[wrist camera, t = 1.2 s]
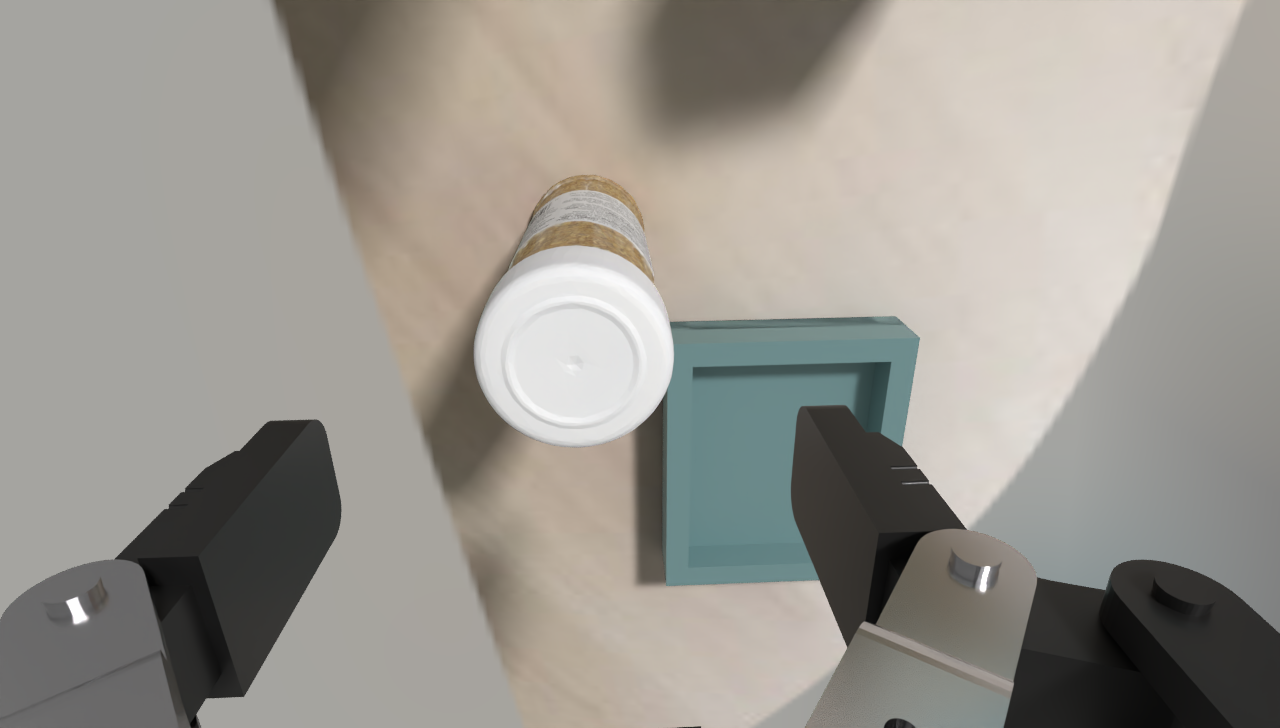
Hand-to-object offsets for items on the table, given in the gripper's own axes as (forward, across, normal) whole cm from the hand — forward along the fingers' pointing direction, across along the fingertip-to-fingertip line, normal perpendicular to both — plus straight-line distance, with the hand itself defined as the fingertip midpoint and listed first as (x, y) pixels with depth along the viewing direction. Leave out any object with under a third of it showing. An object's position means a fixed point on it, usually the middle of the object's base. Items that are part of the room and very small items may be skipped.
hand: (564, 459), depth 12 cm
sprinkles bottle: (+18, 0, 0) cm, 18 cm away
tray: (+17, -8, +10) cm, 21 cm away
